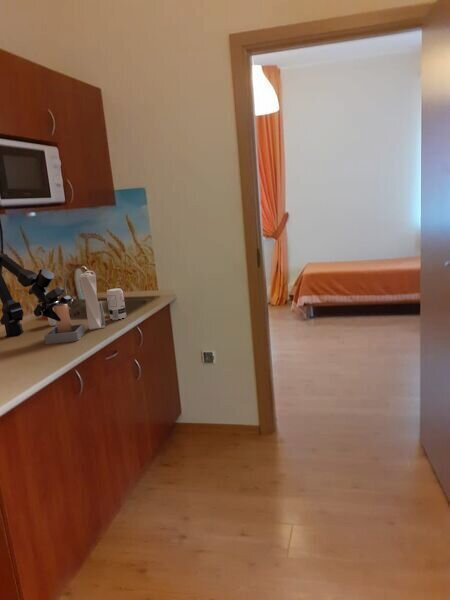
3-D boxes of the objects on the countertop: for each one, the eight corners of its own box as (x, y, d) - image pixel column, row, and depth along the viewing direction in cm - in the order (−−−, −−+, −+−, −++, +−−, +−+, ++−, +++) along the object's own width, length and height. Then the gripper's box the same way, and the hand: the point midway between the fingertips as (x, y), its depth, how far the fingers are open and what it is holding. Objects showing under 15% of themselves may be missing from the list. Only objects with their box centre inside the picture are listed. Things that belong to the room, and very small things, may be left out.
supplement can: (109, 318, 245) (105, 289, 242) (125, 315, 248) (121, 287, 245) (111, 321, 238) (107, 292, 235) (127, 318, 241) (123, 289, 237)
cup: (60, 335, 210) (55, 306, 207) (56, 333, 215) (51, 305, 212) (74, 332, 214) (69, 304, 211) (69, 330, 218) (65, 302, 216)
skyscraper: (104, 328, 224) (95, 270, 218) (86, 331, 223) (77, 272, 217) (106, 324, 233) (97, 267, 227) (89, 326, 232) (80, 269, 226)
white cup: (61, 325, 240) (57, 306, 238) (45, 326, 240) (42, 307, 238) (66, 321, 247) (63, 302, 245) (51, 322, 248) (48, 303, 246)
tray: (45, 344, 208) (44, 335, 207) (55, 335, 221) (53, 326, 221) (78, 340, 208) (76, 332, 207) (85, 332, 222) (84, 323, 221)
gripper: (33, 286, 203) (57, 312, 200) (65, 278, 219) (87, 301, 217) (23, 303, 208) (46, 329, 206) (55, 294, 224) (76, 317, 222)
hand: (65, 318), depth 212 cm, fingers closed on cup, 6 cm apart
